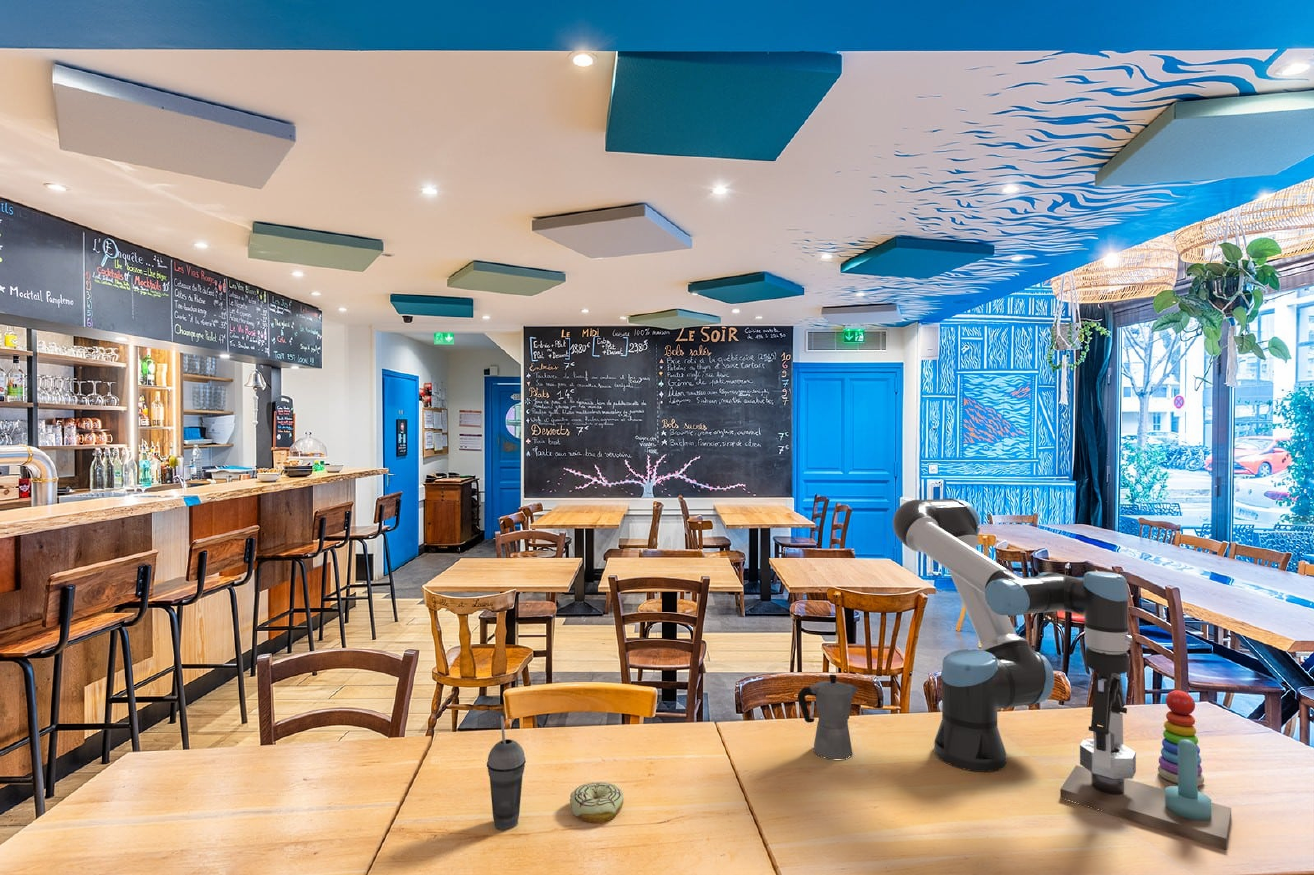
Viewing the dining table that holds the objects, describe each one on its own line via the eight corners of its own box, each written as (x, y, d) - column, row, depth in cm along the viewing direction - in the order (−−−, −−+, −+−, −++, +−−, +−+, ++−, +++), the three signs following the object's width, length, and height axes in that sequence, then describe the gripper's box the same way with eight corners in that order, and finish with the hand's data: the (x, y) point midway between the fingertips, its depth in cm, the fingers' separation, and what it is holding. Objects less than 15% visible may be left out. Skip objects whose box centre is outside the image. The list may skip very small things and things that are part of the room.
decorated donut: (568, 827, 129) (568, 807, 129) (571, 798, 140) (571, 779, 140) (623, 825, 130) (623, 805, 130) (622, 796, 141) (622, 777, 141)
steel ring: (1077, 768, 140) (1076, 749, 140) (1086, 754, 146) (1086, 735, 146) (1130, 783, 133) (1130, 763, 133) (1138, 767, 140) (1137, 748, 140)
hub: (1162, 811, 131) (1162, 740, 131) (1167, 797, 136) (1167, 729, 136) (1209, 825, 126) (1209, 751, 126) (1213, 810, 131) (1212, 739, 131)
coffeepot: (848, 740, 167) (848, 666, 167) (869, 758, 157) (868, 679, 158) (789, 746, 163) (789, 671, 163) (806, 764, 154) (806, 684, 154)
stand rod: (1088, 788, 140) (1088, 734, 140) (1094, 778, 144) (1094, 725, 144) (1121, 797, 136) (1121, 742, 136) (1126, 787, 140) (1126, 733, 140)
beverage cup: (506, 838, 125) (506, 728, 125) (478, 827, 129) (478, 720, 129) (533, 820, 131) (533, 715, 131) (505, 809, 135) (506, 707, 135)
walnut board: (1060, 798, 139) (1060, 788, 139) (1076, 774, 150) (1076, 765, 150) (1226, 850, 122) (1226, 838, 122) (1231, 818, 132) (1231, 808, 132)
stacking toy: (1212, 790, 143) (1212, 699, 143) (1169, 786, 145) (1168, 697, 145) (1191, 772, 151) (1190, 686, 151) (1150, 768, 152) (1149, 684, 152)
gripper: (1117, 667, 128) (1119, 782, 128) (1139, 640, 147) (1141, 740, 146) (1071, 659, 133) (1073, 769, 133) (1098, 634, 152) (1100, 731, 151)
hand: (1109, 754), depth 139 cm, fingers open, 13 cm apart
